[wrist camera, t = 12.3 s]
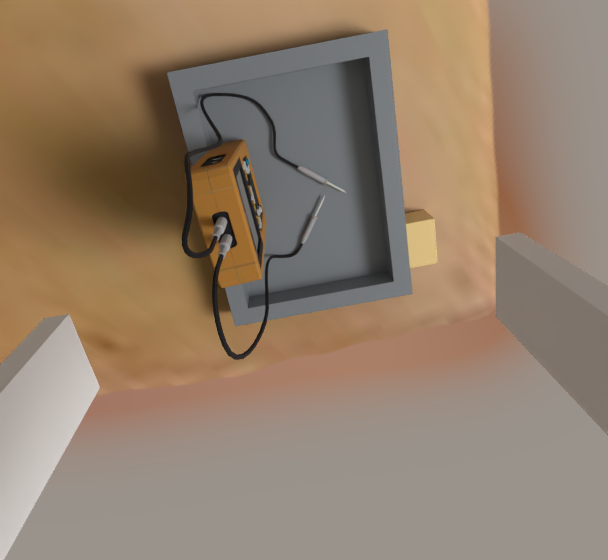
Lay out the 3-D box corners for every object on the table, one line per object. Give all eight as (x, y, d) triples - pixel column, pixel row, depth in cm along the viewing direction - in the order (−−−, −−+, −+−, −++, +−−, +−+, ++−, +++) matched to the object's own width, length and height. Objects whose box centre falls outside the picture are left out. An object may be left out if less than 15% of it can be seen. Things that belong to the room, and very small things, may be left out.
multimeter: (356, 242, 42) (417, 369, 23) (247, 267, 42) (223, 410, 24) (323, 65, 36) (370, 48, 18) (197, 96, 36) (115, 110, 18)
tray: (237, 311, 44) (235, 326, 42) (175, 73, 36) (166, 72, 33) (429, 276, 44) (439, 288, 41) (410, 27, 36) (421, 22, 33)
